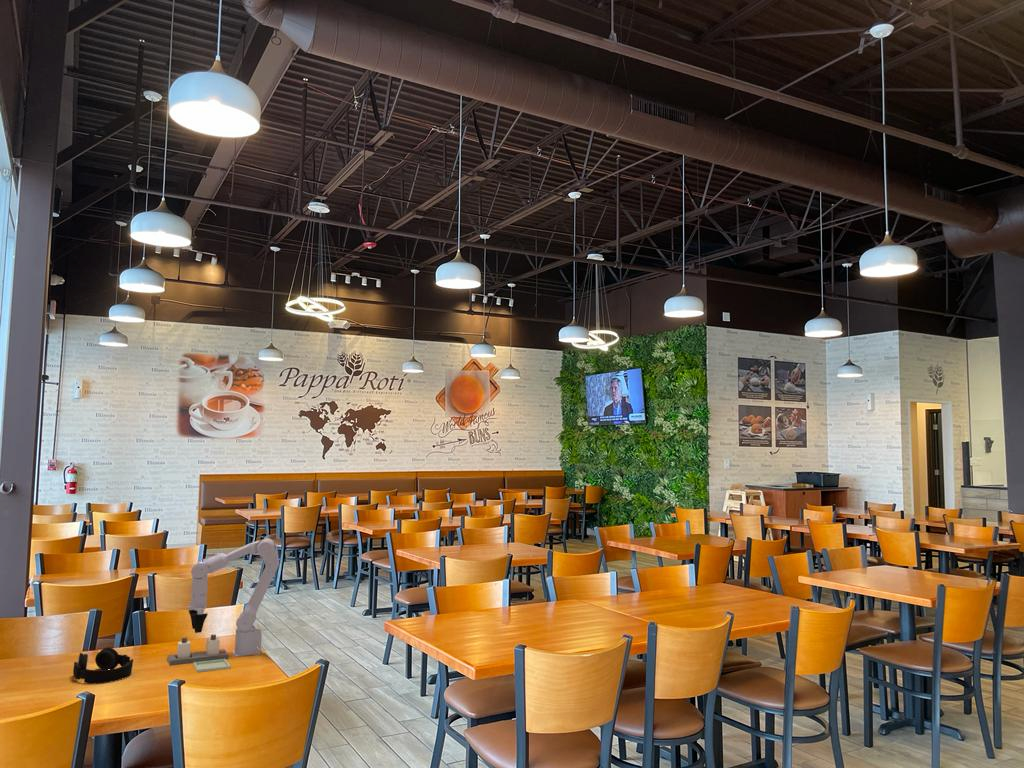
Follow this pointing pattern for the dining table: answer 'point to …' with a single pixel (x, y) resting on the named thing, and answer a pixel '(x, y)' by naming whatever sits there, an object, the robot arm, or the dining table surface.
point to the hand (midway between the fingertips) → (196, 630)
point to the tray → (211, 665)
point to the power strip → (202, 654)
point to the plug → (183, 649)
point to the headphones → (103, 667)
